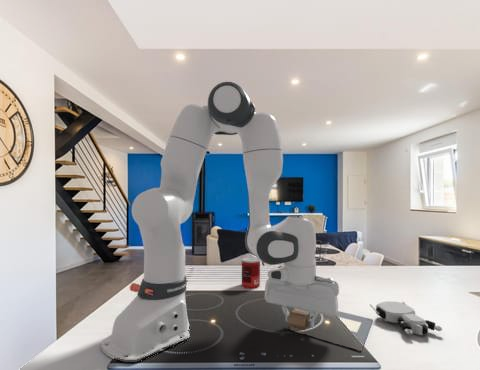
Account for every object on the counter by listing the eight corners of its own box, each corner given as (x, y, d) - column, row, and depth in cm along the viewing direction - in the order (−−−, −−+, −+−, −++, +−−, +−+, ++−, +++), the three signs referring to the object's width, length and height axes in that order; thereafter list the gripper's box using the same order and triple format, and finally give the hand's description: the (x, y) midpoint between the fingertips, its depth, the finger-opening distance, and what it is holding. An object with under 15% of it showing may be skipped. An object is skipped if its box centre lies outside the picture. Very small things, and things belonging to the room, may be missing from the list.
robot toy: (445, 340, 71) (401, 312, 86) (446, 323, 71) (401, 298, 86) (406, 344, 68) (367, 315, 83) (407, 327, 68) (368, 301, 83)
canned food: (260, 283, 114) (260, 257, 115) (259, 289, 106) (259, 261, 107) (242, 282, 115) (242, 256, 116) (240, 288, 107) (241, 261, 108)
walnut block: (304, 335, 71) (304, 318, 71) (288, 330, 73) (288, 313, 73) (310, 328, 75) (310, 312, 75) (294, 324, 77) (294, 308, 77)
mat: (361, 352, 63) (361, 350, 63) (304, 334, 71) (304, 333, 71) (373, 320, 80) (373, 319, 80) (326, 309, 87) (326, 308, 87)
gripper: (340, 276, 72) (340, 328, 72) (270, 266, 82) (270, 311, 81) (336, 282, 67) (337, 339, 66) (262, 271, 77) (262, 320, 76)
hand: (299, 324), depth 74 cm, fingers open, 5 cm apart
